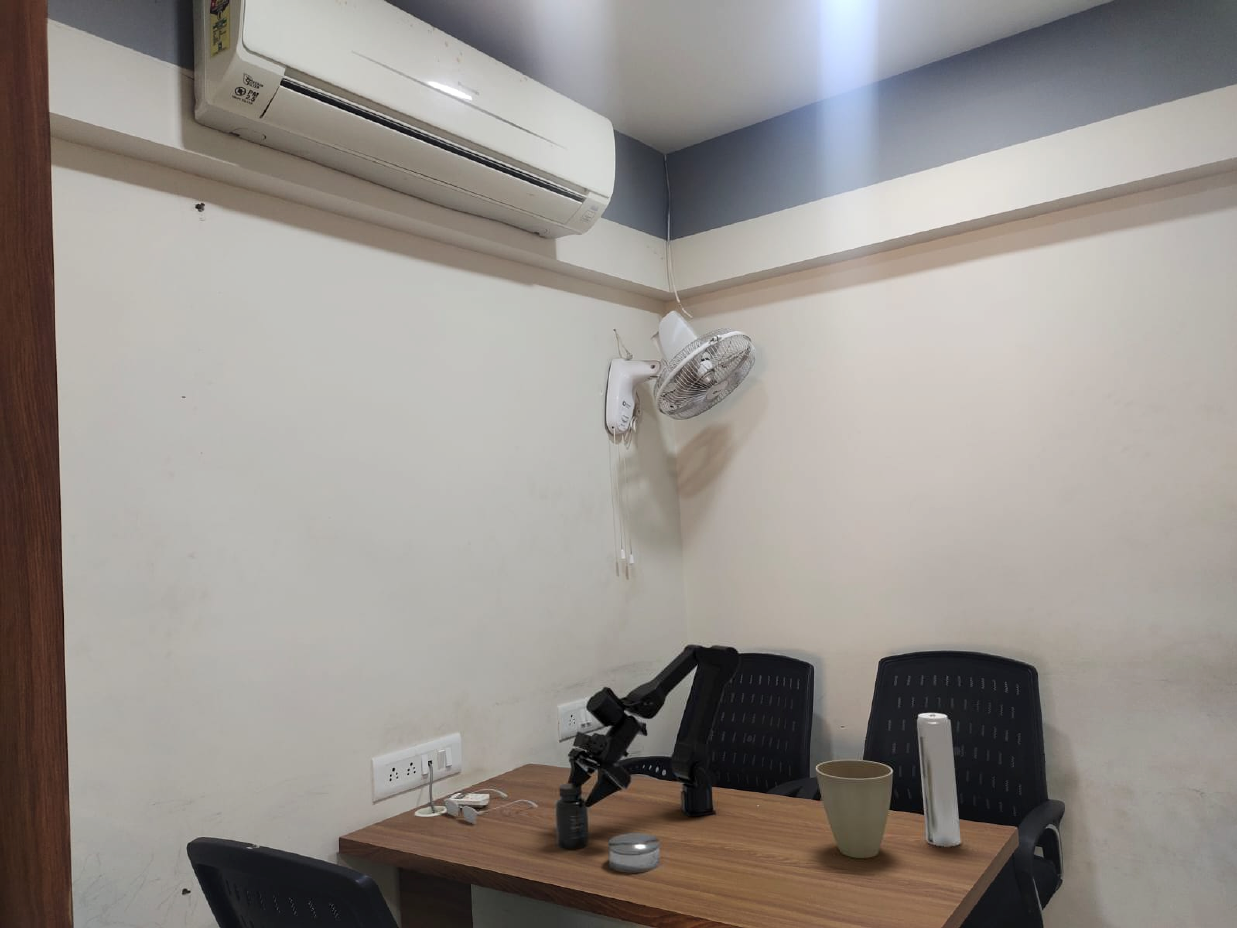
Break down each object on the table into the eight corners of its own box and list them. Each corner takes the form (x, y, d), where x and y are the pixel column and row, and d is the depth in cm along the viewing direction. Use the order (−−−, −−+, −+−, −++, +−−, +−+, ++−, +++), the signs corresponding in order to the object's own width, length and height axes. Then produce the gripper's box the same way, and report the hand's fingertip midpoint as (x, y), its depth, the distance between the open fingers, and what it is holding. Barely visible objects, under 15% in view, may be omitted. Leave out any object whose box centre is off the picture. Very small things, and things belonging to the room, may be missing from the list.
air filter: (963, 847, 163) (952, 717, 166) (929, 846, 165) (918, 718, 167) (957, 836, 170) (946, 711, 172) (924, 835, 171) (914, 711, 173)
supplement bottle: (591, 838, 178) (589, 781, 179) (586, 850, 171) (584, 790, 173) (559, 838, 179) (557, 781, 180) (554, 850, 172) (552, 790, 173)
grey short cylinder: (650, 850, 170) (649, 830, 170) (667, 867, 160) (665, 846, 160) (603, 857, 167) (602, 837, 167) (617, 875, 157) (616, 853, 158)
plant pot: (894, 869, 154) (887, 781, 156) (814, 860, 160) (808, 775, 162) (903, 842, 168) (897, 761, 169) (829, 834, 174) (823, 756, 175)
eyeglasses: (443, 814, 201) (442, 797, 202) (504, 796, 213) (504, 780, 214) (477, 828, 190) (476, 810, 190) (540, 808, 202) (540, 791, 202)
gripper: (573, 711, 189) (531, 769, 182) (616, 723, 173) (572, 787, 166) (604, 741, 192) (564, 799, 185) (649, 756, 177) (607, 820, 170)
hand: (575, 800), depth 177 cm, fingers open, 9 cm apart
